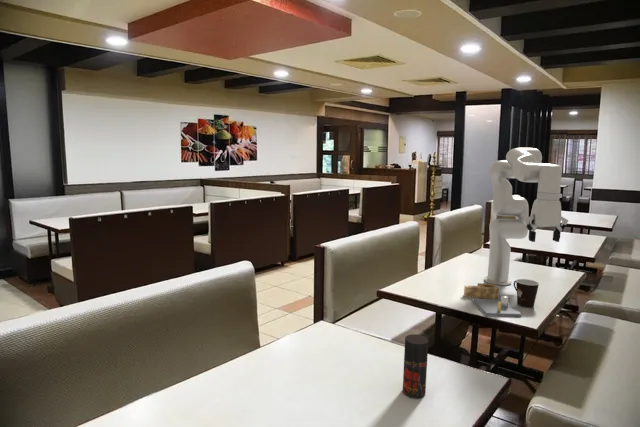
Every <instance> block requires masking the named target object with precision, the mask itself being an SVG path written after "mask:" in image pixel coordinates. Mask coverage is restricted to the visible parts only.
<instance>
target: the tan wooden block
mask: <svg viewBox="0 0 640 427" xmlns="http://www.w3.org/2000/svg"><path fill="white" fill-rule="evenodd" d="M499 295H500V288H499V286H498V285H495V284H490V283H486V282H484V283H480V282H479V283H477V285H464V287H463V296H464V297H465V298H479V299H500V298H499V297H500V296H499Z"/></svg>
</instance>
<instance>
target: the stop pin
mask: <svg viewBox="0 0 640 427" xmlns="http://www.w3.org/2000/svg"><path fill="white" fill-rule="evenodd" d="M500 311H501V302H498V308H497V312H500Z"/></svg>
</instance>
